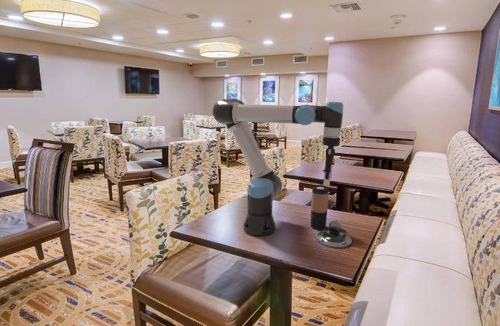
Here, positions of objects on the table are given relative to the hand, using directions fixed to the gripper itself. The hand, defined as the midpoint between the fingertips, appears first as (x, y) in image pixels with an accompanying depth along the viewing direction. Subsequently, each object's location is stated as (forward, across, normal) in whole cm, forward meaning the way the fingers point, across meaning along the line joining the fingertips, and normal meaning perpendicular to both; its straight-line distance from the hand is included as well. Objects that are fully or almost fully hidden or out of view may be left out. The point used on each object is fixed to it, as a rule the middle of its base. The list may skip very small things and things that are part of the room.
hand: (327, 182), depth 147 cm
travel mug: (+23, 0, +2) cm, 23 cm away
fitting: (+22, -9, -6) cm, 25 cm away
